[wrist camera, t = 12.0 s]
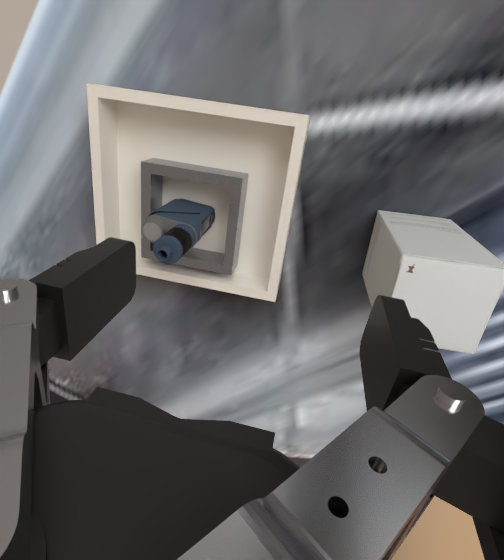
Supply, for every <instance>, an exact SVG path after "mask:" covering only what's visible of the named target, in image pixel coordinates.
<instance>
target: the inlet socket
mask: <svg viewBox="0 0 504 560" xmlns="http://www.w3.org/2000/svg"><path fill="white" fill-rule="evenodd" d="M248 175H249V174H248V173H242V172H236V171H230V170H224V169H218V168H212V167H206V166H200V165H194V164H188V163H182V162H176V161H170V160H164V159H158V158H151V159H148V160H144V161H141V228H142V225H143V224H144V223H145V220H146V218H147V217H148V215H149V214H150V213H151V212H153V211H155V210H156V209H158V208H160V207H162V192H163V176H167V177H173V178H179V179H185V180H191V181H197V182H202V183H208V184H214V185H220V186H226V187H231V194H230V203H229V213H228V223H227V232H226V242H225V252H224V253H219V252H214V251H208V250H203V249H198V248H193V247H192V248H191V249H189V250H188V251H187V252H186V253H185V254H184V255H183V256H182V257H181V258H180V259H179V260H178V261H177V262H176V263H174V264H177V265H182V266H187V267H192V268H197V269H203V270H208V271H213V272H218V273H223V274H228V275H232V273H233V272H234V270H235V268H236V266H237V265H238V257H239V249H240V241H241V232H242V224H243V216H244V208H245V200H246V192H247V184H248ZM153 246H154V243H153V242H149V241H147V240H146V239H145V238H144V237H143V235H142V231H141V257H142V258H147V259H152V260H157V261H159V260H158V259H157V258H156V257H155V255H154V252H153Z"/></svg>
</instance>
